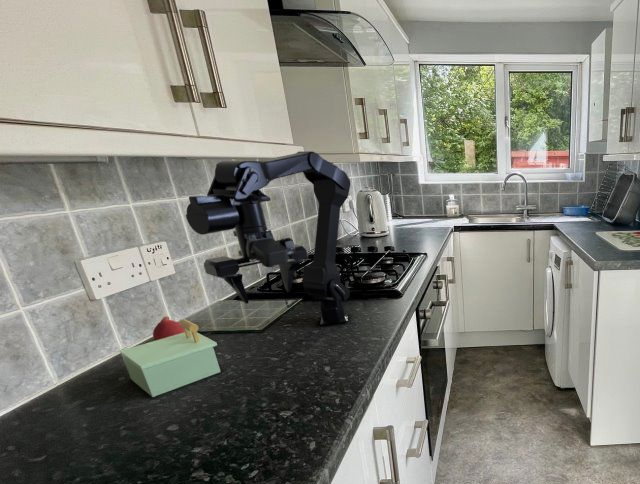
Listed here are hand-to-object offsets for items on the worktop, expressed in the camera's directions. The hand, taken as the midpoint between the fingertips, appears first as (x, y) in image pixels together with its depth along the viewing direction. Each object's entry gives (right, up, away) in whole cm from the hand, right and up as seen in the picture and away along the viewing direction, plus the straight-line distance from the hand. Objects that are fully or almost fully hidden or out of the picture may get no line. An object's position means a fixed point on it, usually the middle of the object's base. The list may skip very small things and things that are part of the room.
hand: (268, 297), depth 90 cm
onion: (-24, -12, +4) cm, 27 cm away
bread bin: (-14, -16, -7) cm, 23 cm away
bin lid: (-14, -11, -9) cm, 20 cm away
